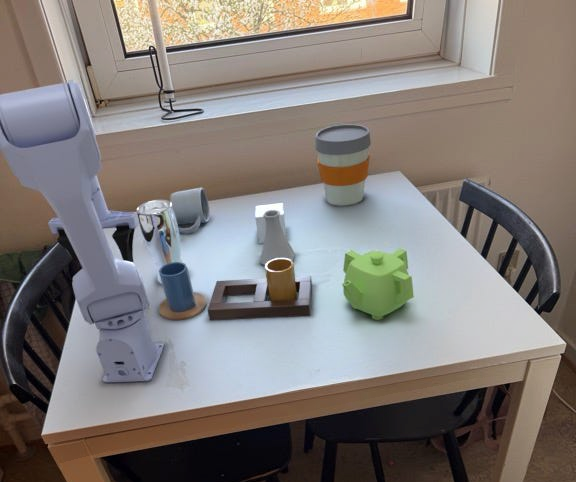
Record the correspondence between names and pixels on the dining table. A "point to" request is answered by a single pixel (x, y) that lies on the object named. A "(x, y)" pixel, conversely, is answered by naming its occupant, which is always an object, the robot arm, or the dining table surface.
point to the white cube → (262, 223)
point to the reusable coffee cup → (343, 162)
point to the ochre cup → (281, 279)
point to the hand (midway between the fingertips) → (109, 267)
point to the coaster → (192, 312)
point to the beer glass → (160, 232)
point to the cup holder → (258, 300)
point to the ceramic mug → (190, 208)
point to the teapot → (377, 281)
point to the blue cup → (177, 286)
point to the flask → (275, 239)
